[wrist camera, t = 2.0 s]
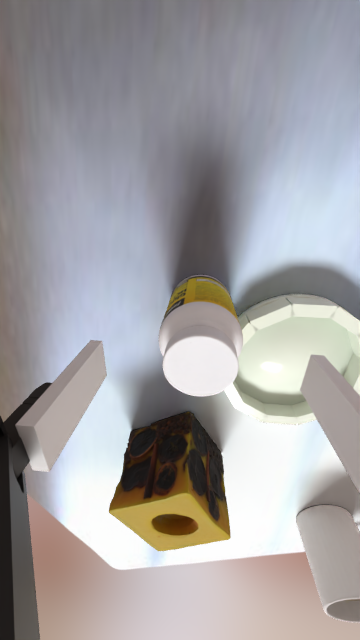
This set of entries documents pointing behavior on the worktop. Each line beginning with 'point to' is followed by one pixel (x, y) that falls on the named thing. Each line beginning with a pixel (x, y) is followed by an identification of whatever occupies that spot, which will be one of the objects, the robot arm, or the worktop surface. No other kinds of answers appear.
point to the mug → (333, 558)
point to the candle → (173, 485)
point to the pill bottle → (200, 337)
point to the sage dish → (291, 354)
